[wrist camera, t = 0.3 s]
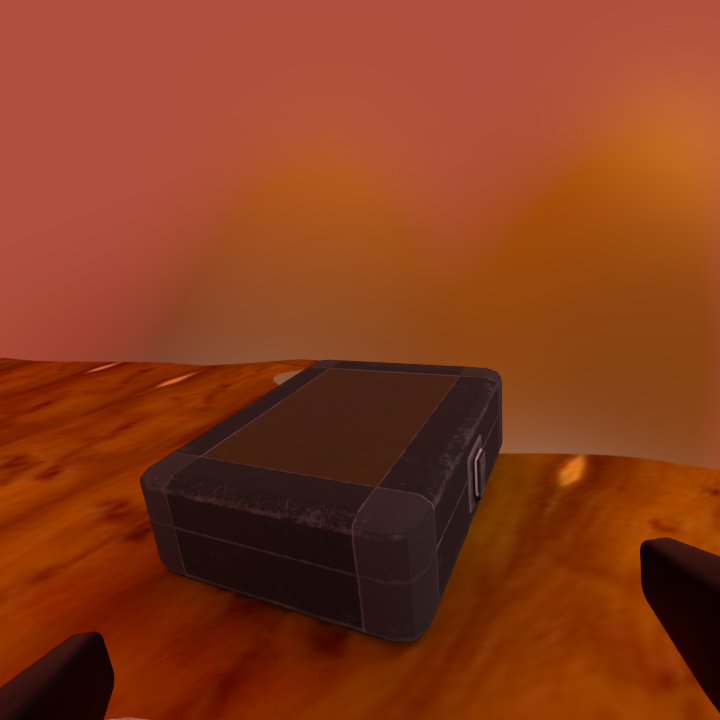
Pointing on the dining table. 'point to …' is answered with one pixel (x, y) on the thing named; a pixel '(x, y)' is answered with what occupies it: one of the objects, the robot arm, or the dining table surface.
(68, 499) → the dining table surface
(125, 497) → the dining table surface
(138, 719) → the coffee mug
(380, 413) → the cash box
